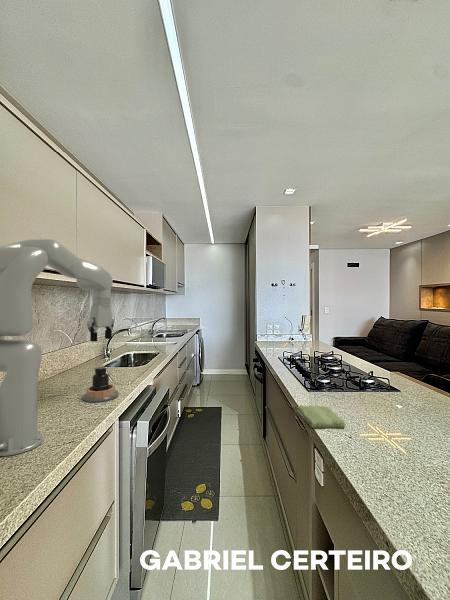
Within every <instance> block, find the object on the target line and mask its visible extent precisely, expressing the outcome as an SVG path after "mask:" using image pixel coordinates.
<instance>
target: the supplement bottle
mask: <svg viewBox="0 0 450 600" xmlns="http://www.w3.org/2000/svg"><path fill="white" fill-rule="evenodd" d="M107 368H108V367H106V366H99V367H95V368H94V374H93V375H92V382H91V383H92V384H91V386H92V391H104V390H108V389H109V384H110V383H109V381H110V380H109V379H110V376H109V373H107V370H108V369H107Z"/></svg>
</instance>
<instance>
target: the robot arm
mask: <svg viewBox="0 0 450 600" xmlns="http://www.w3.org/2000/svg"><path fill="white" fill-rule="evenodd" d="M47 266H48V267H49V268H51V269H52V270H55V271H56V272H57V273H59V274H61V275H62V276H64V277H67V278H70V279H75V281H76V285H77V287H78V288H79V289H80V290H82V291H92V305H91V306H90V310H89V311H90V312H89V318H88V319H89V321H87V322H86V327H87V329H88V332H89V333H90V335H89V336H90V337H89V340H90V342H95V343H96V342H98V332H97V331H98V329H99V328H105V330H104V339H106V340H111V339H112V337H113V335H112V334H113V333H112V332H113V330H114V329H113V327H114V325H115V320H114V319H113V315H112V314H113V313H112V312H113V311H112V306H111V305H112V304H111V300H112V299H111V297H112V295H111V292H112V287H113V284H114V282H113V281H114V280H113V277H112V276H111V274H110V273H109V271H107V269H105V268H103V267H102V266H101V265H98V264H96V263H93V262H90V261H88V260H85V259H82V258H79V257H77V256H76V254H74V253H73V252H71V251H70V250H69V249H68V248H67V247H65V246H64V245H63V244H61V243H60V242H59V241H56V240H54V239H49V238H48V239H46V238H45V239H25V240H21V241H18V242H13V243H9V244H5V245H2V246H0V372H3V373H4V372H5V375H4V377H3V379H2V380H1V383H0V457H9V456H14V455H19V454H23V453H26V452H29V451H31V450H33V449H35V448H37V447H38V446H40V445H41V444H42V443H43V442H44V435H43V434H42V433H41V432H38V415H39V414H38V413H39V411H38V409H39V408H38V405H39V404H38V403H39V401H38V400H39V398H38V395H39V391H38V390H39V386H38V385H39V371H40V366H41V364H42V363H41V362H42V359H43V350H42V348H41V346H40V345H39V344H38V343H37V342H35V341H32V340H28V339H6V338H5V337H22V336H26V335H27V334H29V333H31V331H32V330H33V327H34V314H33V302H32V286H33V284H34V282H35V280H36V279H37V277H38V276H39V275H40V274H41V273H43V271H44V270H45V269H46V268H47Z"/></svg>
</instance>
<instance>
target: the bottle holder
mask: <svg viewBox="0 0 450 600" xmlns="http://www.w3.org/2000/svg"><path fill="white" fill-rule="evenodd" d="M119 393H120V392H119V391H118V390H116V385H115V384H111V383H109V389H108V390H104V391H92V385H91V386H89V387H87V388H86V389H85V393H84V394H83V395H82V401H83V402H85V403H90V404H91V403H92V404H97V403H99V404H100V403H105V402H109V401H113V400H115V399H117V398H118V397H119Z"/></svg>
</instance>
